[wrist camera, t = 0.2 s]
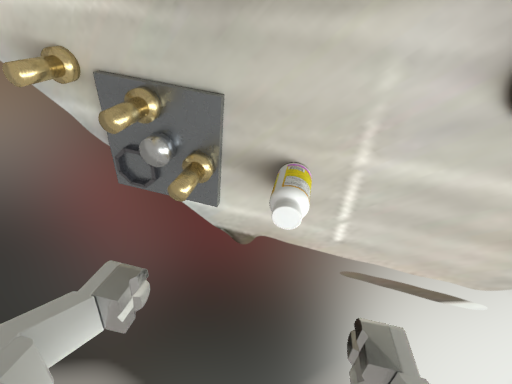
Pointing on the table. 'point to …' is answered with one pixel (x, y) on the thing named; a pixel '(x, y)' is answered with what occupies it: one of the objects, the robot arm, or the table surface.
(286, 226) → the supplement bottle
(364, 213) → the table surface
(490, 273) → the table surface
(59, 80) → the gold flared cylinder
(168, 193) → the carrier plate
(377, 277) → the table surface
